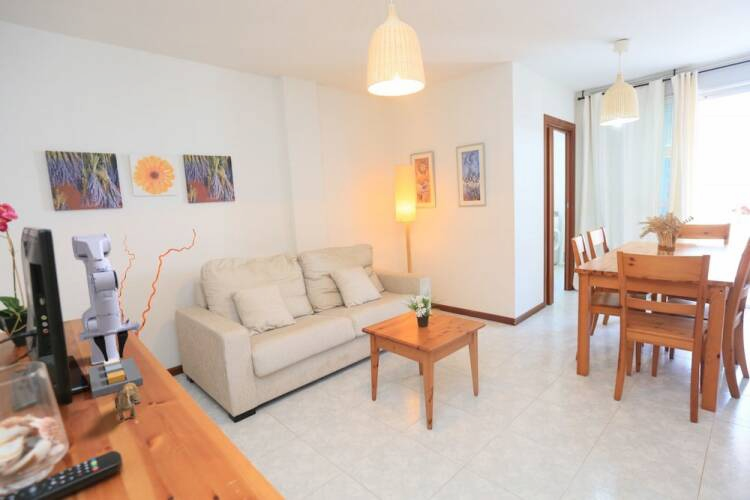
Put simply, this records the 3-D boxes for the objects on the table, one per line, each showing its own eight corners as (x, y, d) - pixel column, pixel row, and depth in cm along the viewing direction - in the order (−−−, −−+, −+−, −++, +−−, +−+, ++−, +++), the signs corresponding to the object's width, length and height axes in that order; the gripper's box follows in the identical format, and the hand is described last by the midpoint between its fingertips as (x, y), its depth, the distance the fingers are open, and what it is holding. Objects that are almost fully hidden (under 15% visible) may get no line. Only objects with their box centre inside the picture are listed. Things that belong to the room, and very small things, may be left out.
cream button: (104, 368, 123) (103, 361, 123) (119, 364, 126) (118, 357, 125) (105, 372, 120) (104, 364, 120) (120, 368, 123) (119, 361, 122)
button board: (89, 373, 123) (88, 367, 122) (133, 363, 130) (132, 357, 130) (93, 398, 106) (92, 391, 106) (143, 384, 114) (142, 377, 113)
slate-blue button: (106, 375, 118) (105, 367, 118) (121, 371, 121) (120, 363, 120) (107, 379, 115) (106, 371, 115) (123, 375, 118) (122, 367, 117)
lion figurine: (144, 422, 93) (139, 387, 92) (117, 430, 90) (112, 394, 89) (140, 398, 105) (136, 366, 104) (117, 404, 102) (112, 372, 101)
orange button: (108, 382, 113) (107, 374, 113) (124, 378, 116) (123, 370, 115) (109, 387, 110) (108, 378, 110) (125, 382, 113) (124, 374, 112)
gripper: (76, 322, 103) (83, 370, 104) (139, 310, 112) (144, 355, 113) (75, 316, 108) (82, 362, 110) (135, 306, 117) (141, 349, 119)
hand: (113, 358), depth 112 cm, fingers open, 3 cm apart
